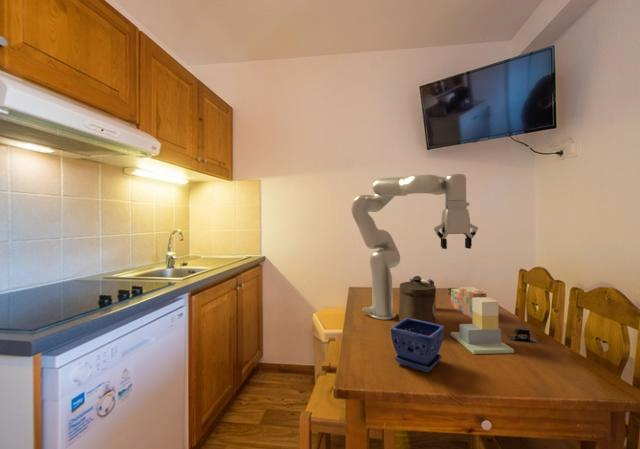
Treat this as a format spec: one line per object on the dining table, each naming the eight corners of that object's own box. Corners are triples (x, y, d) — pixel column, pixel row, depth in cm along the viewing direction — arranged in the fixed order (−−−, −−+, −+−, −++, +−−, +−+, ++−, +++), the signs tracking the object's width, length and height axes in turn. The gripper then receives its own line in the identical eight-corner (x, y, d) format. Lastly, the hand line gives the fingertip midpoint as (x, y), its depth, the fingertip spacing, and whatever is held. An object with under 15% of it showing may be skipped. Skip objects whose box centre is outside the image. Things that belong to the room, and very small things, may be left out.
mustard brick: (481, 329, 102) (481, 315, 102) (472, 323, 108) (472, 310, 108) (498, 329, 102) (498, 315, 102) (488, 323, 108) (487, 310, 108)
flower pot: (406, 349, 100) (406, 316, 100) (445, 361, 92) (445, 324, 92) (389, 364, 90) (389, 327, 90) (432, 379, 82) (432, 338, 82)
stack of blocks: (450, 305, 152) (450, 282, 151) (462, 305, 152) (461, 282, 152) (473, 319, 130) (473, 293, 130) (487, 319, 130) (486, 292, 130)
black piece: (537, 338, 110) (537, 327, 110) (546, 347, 103) (546, 334, 103) (500, 335, 114) (500, 323, 114) (506, 342, 107) (506, 330, 107)
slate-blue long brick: (468, 344, 102) (468, 330, 102) (459, 337, 108) (459, 324, 108) (501, 343, 102) (501, 329, 102) (490, 336, 108) (490, 323, 108)
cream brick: (472, 310, 108) (472, 297, 108) (487, 310, 108) (487, 297, 108) (482, 315, 102) (481, 302, 102) (498, 315, 102) (498, 301, 102)
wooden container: (443, 332, 116) (443, 278, 116) (410, 336, 113) (410, 280, 112) (423, 320, 130) (422, 272, 130) (393, 323, 127) (392, 274, 127)
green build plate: (473, 353, 97) (473, 350, 97) (450, 335, 113) (450, 332, 113) (513, 352, 97) (513, 349, 97) (485, 334, 113) (485, 331, 113)
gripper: (471, 205, 117) (472, 247, 117) (430, 206, 117) (430, 248, 117) (482, 204, 110) (483, 249, 110) (438, 205, 109) (438, 249, 109)
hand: (456, 248), depth 113 cm, fingers open, 9 cm apart
